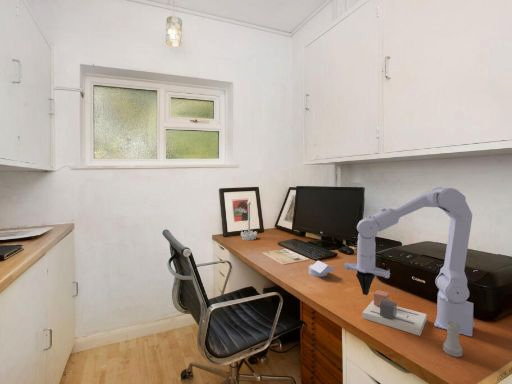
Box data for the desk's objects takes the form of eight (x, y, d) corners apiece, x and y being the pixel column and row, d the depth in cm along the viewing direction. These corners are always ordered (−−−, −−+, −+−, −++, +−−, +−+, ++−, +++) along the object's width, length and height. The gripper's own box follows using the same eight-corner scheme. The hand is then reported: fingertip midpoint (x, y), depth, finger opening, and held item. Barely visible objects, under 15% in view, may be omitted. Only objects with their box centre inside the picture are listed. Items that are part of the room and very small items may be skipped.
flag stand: (240, 237, 227) (240, 201, 225) (256, 236, 228) (256, 200, 227) (241, 240, 214) (241, 202, 212) (258, 240, 215) (257, 202, 214)
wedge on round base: (336, 277, 131) (320, 269, 143) (336, 264, 131) (320, 257, 143) (320, 280, 128) (305, 271, 140) (320, 266, 128) (305, 258, 140)
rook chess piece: (461, 360, 71) (462, 329, 71) (441, 353, 74) (441, 323, 73) (463, 352, 74) (464, 323, 74) (443, 345, 77) (444, 317, 77)
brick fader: (388, 303, 98) (389, 292, 98) (385, 307, 95) (385, 296, 95) (377, 300, 101) (377, 289, 100) (373, 304, 97) (373, 293, 97)
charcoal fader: (396, 314, 90) (396, 302, 90) (393, 319, 87) (393, 306, 87) (383, 310, 93) (383, 299, 92) (380, 315, 90) (380, 303, 89)
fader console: (426, 319, 91) (426, 313, 91) (420, 335, 82) (420, 329, 82) (373, 305, 102) (373, 300, 102) (362, 318, 93) (362, 312, 93)
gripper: (341, 253, 95) (340, 292, 96) (385, 261, 86) (385, 303, 87) (348, 249, 101) (348, 286, 101) (391, 256, 91) (390, 296, 92)
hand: (365, 293), depth 94 cm, fingers closed
